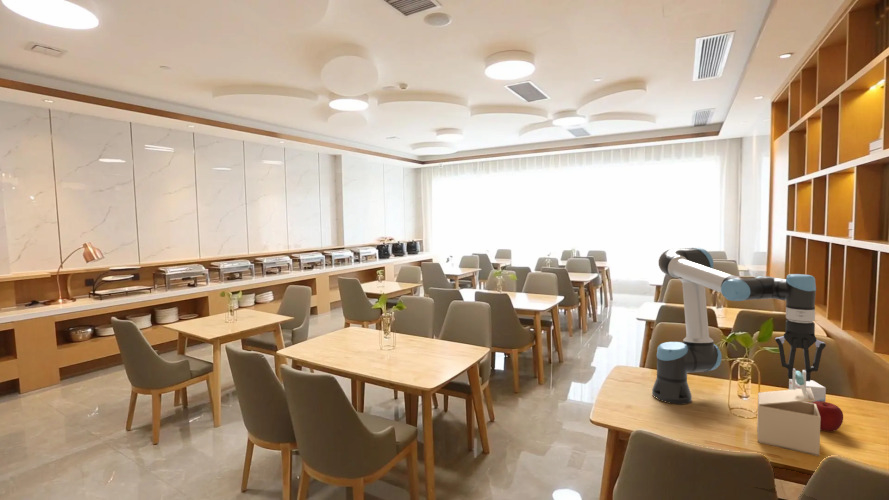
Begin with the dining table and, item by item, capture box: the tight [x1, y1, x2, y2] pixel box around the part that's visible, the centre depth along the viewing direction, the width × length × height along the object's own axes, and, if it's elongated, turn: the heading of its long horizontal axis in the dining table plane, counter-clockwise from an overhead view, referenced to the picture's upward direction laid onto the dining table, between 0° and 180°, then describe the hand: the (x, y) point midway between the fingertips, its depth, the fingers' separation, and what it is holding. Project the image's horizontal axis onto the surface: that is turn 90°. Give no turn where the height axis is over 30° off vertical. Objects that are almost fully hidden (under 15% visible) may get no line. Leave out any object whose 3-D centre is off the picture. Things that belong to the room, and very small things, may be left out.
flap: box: [757, 370, 815, 405], centre depth 147 cm, size 15×12×7 cm
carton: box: [756, 393, 821, 457], centre depth 147 cm, size 16×12×13 cm
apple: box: [812, 401, 844, 432], centre depth 154 cm, size 10×10×10 cm
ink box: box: [788, 378, 827, 403], centre depth 169 cm, size 9×8×12 cm
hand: (798, 389), depth 144 cm, fingers open, 2 cm apart
